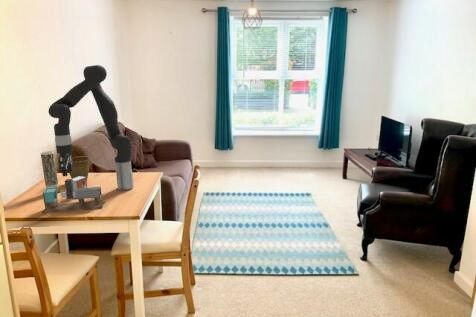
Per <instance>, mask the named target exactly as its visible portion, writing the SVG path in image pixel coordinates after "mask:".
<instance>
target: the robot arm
mask: <svg viewBox="0 0 476 317" xmlns="http://www.w3.org/2000/svg"><path fill="white" fill-rule="evenodd" d="M107 75H108V74H107V70H106V68H105V67H104V66H102V65H100V64H99V65H98V64H94V65H88V66H85V67H84V69H83V77H84V80H83V81H81V82H79V83H77V84H76V85H75V86H73V87H72V88H71V89H69V90H68V92H66V93H65V94H64V95H63V96H62V97H60V98H59V99H58V100H55V101H54V102H53V103H52V104H51V105H50V106H49V108H48V110H47V111H48V114H49V116H50V118H53V119H58V121H57V123H55V124H53V130H54V132H53V133H54V143H55V149H56V154H58V155H60V157H58V164H59V170H61V174H62V176H63V177H68V174H69V172H72V163H73V160H72V157H73V155H72V153H73V151H74V150H73V144H72V143H73V142H72V141H73V140H72V136H71V131H70V130H71V129H70V124H71V119H72V118H71V117H72V111H71V108H74V107H75V106H77V105H78V103H80V102H81V100H82V99H83V98H84V97H85V96H86V95H87V94H88V93H90V92H91V94H92V96H93V99H94V101H95V103H96V106H97V109H98V112H99V114H100V117H101V119H102V121H103V124H104V126H105V128H106V130H107V135H108V139H109V142H110V145H111V147H112V148H113V149H114V150H116V156H114V166H115V176H116V183H117V184H116V185H117V189H118V191H119V190H120V191H127V190H133V189H134V175H133V170H132V161H131V159H132V142H131V139H130V138H129V137H128V136H126V135H123V134H122V132H121V130H120V128H119V123H118V120H119V118H118V116H119V114H118V110H117V107H116V105H115V103H114V101H113V100H112V99H111V97H110V96H109V95H108V94H107V93H106V92H105V91H104V89H103V87H102V85H101V83H102V82H104V81H105V80H106V78H107Z"/></svg>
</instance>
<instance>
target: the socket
mask: <svg viewBox="0 0 476 317" xmlns="http://www.w3.org/2000/svg"><path fill="white" fill-rule="evenodd" d="M42 198H43V204H44V203H51V202H55V201H56V200H57V199H58V193H57V190H56V189H46V188H45V190H43V192H42ZM58 200H59V199H58Z"/></svg>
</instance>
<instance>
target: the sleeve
mask: <svg viewBox="0 0 476 317" xmlns="http://www.w3.org/2000/svg"><path fill="white" fill-rule="evenodd" d="M99 190H100V192H99ZM75 196H76V197H75V200H78V199H84V200H85V199H94V198H100V199H101V197H102V188H101V186H94V187H93V186H92V187H87V188H77V189H76V190H75Z"/></svg>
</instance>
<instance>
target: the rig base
mask: <svg viewBox="0 0 476 317" xmlns="http://www.w3.org/2000/svg"><path fill="white" fill-rule="evenodd" d="M93 199H94V200H86V201H85V199H77V201H72V202H61V203H59V199H57V200H56V201H55V202H51V203H44V202H43V204H44V209H43V210H42V214H47V213H48V214H49V213H50V214H51V213H61V212H73V211H74V212H76V211H87V210H98V209H101V210H102V209H103V207H104V206H103V205H105V203H106V199H101V197H100V198H93Z"/></svg>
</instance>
